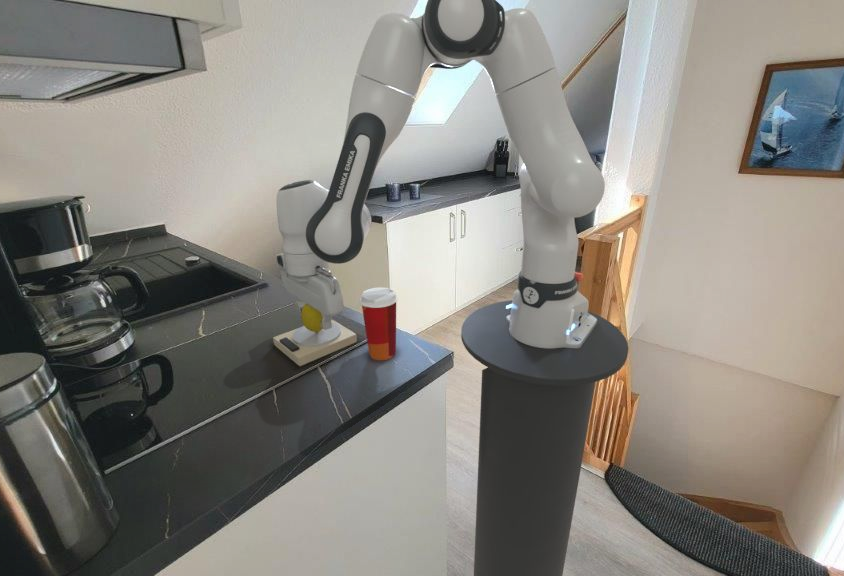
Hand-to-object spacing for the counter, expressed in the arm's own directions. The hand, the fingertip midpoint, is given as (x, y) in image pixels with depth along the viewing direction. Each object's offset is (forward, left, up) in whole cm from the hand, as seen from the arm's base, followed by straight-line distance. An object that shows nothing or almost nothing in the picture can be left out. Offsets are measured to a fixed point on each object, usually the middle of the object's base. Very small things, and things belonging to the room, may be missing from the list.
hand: (315, 320), depth 89 cm
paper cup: (-7, +14, -6) cm, 17 cm away
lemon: (0, 0, -3) cm, 3 cm away
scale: (+1, 0, -6) cm, 6 cm away
